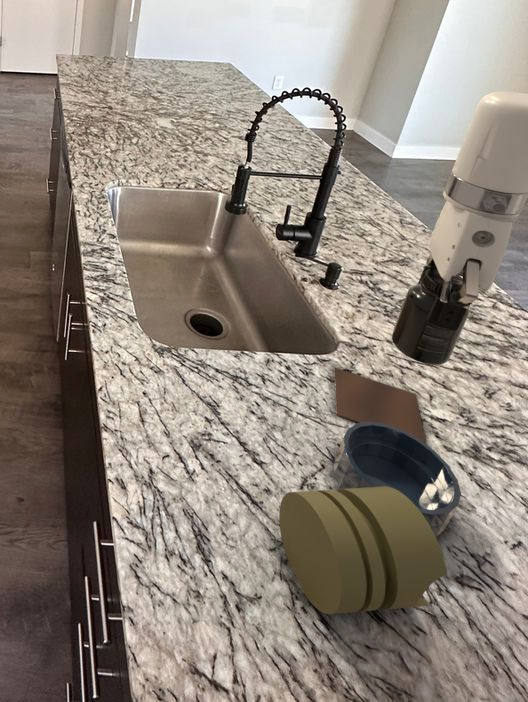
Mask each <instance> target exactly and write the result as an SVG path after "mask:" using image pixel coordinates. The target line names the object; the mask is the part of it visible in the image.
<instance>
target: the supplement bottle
mask: <svg viewBox="0 0 528 702" xmlns="http://www.w3.org/2000/svg"><path fill="white" fill-rule="evenodd" d="M462 278H463V277H462V276H458V275H456V276H452V279H455V280H459V281H462ZM443 282H444V279H443V278H442V277H441V276H440V274H439V272H438V269H429V270H427V271H426V272H425V273H424V276H423V278H422V279H421V282H420V284H418V283H417V284H415V285H413V286H411V287H409V289H408V291H407V293H406V295H405V298H404V300H403V303H402V306H401V308H400V310H399V314H398V317H397V319H396V323H395V325H394V328H393V330H392V333H391V341H392V343H393V345H394V346H395V347H396V349H397V350H398V351H399V352H401V353H402V354H403V355H405V356H406V357H408V358H409V359H411V360H414V361H416V362H417V363H421V364H425V365H431V366H441V365H443V364H447V362H449V360H450V358H451V356H452V354H453V352H454V350H455V348H456V346H457V344H458V340H459V338H460V337H461V333H462V331H463V329H464V327H465V325H466V322H467V320H468V317H469V314H470V307H469V308H468V309H467V310H466V312H465V315H464V317H463V319H462V321H461V323H460V326H459V328H458V330H456V331H453V330H449V329H445V328H442V327H438V326H434V325H431V324H429V323H428V321H427V318H428V316H429V314H430V311H431V309H432V306H433V304H434V302H435V299H436V297H439V298H440V296H441V292H442V287H443ZM461 288H462V286H458V285H454V284H452V286H451V290H450V293H452V292H455V291H456V292H459V290H461Z"/></svg>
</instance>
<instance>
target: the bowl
mask: <svg viewBox="0 0 528 702" xmlns="http://www.w3.org/2000/svg"><path fill="white" fill-rule="evenodd" d="M333 471H334V476H335V479H336V481H337V483H338V486H339V489H352V488H368V487H384V486H385V487H391V488H394V489H396V490H398V491H399V492H401V493H402V494H404V495H405V496H406V497H407V498H409V499H410V500H411V501H412V502H413V503H414V505H415V506H416V507H417V508H418V509H419V510H420V512H421V513H422V514H423V516H424V517H425V519H426V520H427V522H428V524H429V525H430V527H431V529H432V531H433V533H434V534H435V537H436V538H437V537H439V535H440V534H442V533H443V532H444V531H445V530H446V528H447V526H448V525H449V523H450V521H451V519H452V518H453V516H454V514H455V512H456V511H457V509H458V507H459V505H460V500H461V497H462V491H461V488H460V483H459V480H458V478H457V476H456V474H455V473H454V472H453V470H452V469H451V467H450V465H449V464H448V463H447V462H446V461H445V460H444V459H443V458H442V457H441V455H440V454H439V453H438V452H437V451H435V450H434V449H433V448H432V447H430V446H429V445H428V444H427V443H426V444H425V443H424V442H422V441H421V440H420V439H418V438H416V437H414V436H412V435H411V434H409V433H407V432H405V431H403V430H401V429H398V428H395V427H392V426H390V425H387V424H382V423H376V422H363V423H355V424H353V425H352V426H350V427H348V428H347V430H346V432H345V434H344V436H343V437H342V440H341V443H340V445H339V448H338V450H337V453H336V455H335V458H334V460H333Z"/></svg>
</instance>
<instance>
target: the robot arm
mask: <svg viewBox="0 0 528 702" xmlns="http://www.w3.org/2000/svg"><path fill="white" fill-rule="evenodd" d="M442 196H443V198H444V199H445V203H444V205H443V207H442V209H441V212H440V214H439V215H438V218H437V220H436V223H435V225H434V227H433V230H432V233H431V236H430V240H429V243H428V246H429V251H430V253H429V255H428V256H427V258H426V260H425V261H426V265H424V267H423V270H422V272H421V274H420V277H419V279H418V282H417V284H420V282H421V279H422V278H423V276H424V273H425V272H426V271H427V270H429V269H438V272H439V274H440V276H441V277H442V278H443V279H444V282H443V287H442V292H441V296H440V298H439V297H436V299H435V302H434V304H433V306H432V309H431V311H430V314H429V316H428V318H427V321H428V323H429V324H431V325H434V326H438V327H442V328H445V329H449V330H453V331H456V330H458V328H459V326H460V323H461V321H462V319H463V317H464V315H465V312H466V310H467V309H468V308H469V309H470V307H471V305H472V304H473V303H474V302H476V301H478V298H479V292H480V291H479V290H481V291H483V292H487V291H489V290H490V289H491V288H492V286H493V284H494V281H495V279H496V277H497V274H498V272H499V269H500V266H501V264H502V260H503V259H504V256H505V253H506V250H507V247H508V243H509V241H510V236H511V233H512V229H513V224H514V219H516V218H518V217H519V216H520V215H521V214H522V211H523V208H524V206H525V205H526V202H527V199H528V93H523V92H516V91H494V92H490V93H488V94H486V95H484V96H483V97H482V98H481V99H480V100H479V102H478V103H477V106H476V108H475V111H474V113H473V115H472V118H471V120H470V123H469V126H468V129H467V131H466V134H465V136H464V139H463V141H462V144H461V146H460V149H459V151H458V153H457V156H456V159H455V162H454V164H453V167H452V170H451V172H450V174H449V177H448V180H447V182H446V185H445V187H444V190H443V192H442ZM456 275H458V276H460V277H461V278H462V281H459V280H455V279H452V276H456ZM452 284H454V285H458V286H462V288H461V290H459V292H456V291H455V292H452V293H450V290H451V286H452Z"/></svg>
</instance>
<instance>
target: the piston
mask: <svg viewBox="0 0 528 702" xmlns="http://www.w3.org/2000/svg"><path fill="white" fill-rule="evenodd" d="M278 511H279V512H278V513H279V514H278V515H279V516H278V517H279V518H278V519H279V520H278V521H279V531H280V537H281V542H282V546H283V550H284V553H285V557H286V559H287V562H288V564H289V565H290V567H291V570H292V572H293V574H294V576H295V578H296V580H297V582H298V584H299V586H300V588H301V590H302V592H303V594H304V596H305V598H307V599H308V601H309V603H311V605H312V606H313V607H314V608H315V609H317V610H318V611H319V612H321V613H322V614H325V615H336V614H338V615H339V614H347V613H349V614H351V613H357V612H358V613H359V612H360V613H362V612H373V611H377V610H381V611H382V610H383V611H384V610H396V609H397V610H399V609H410V608H411V609H412V608H420V607H429V604H428V602H427V601H426V599H425V598H423V595H425V592H426V591H427V590H428V588H430V586H431V585H433V583H434V582H435V581H437V580H438V579H440V578H442V577H446V576H448V573H447V566H446V561H445V558H444V554H443V552H442V549H441V545H440V543H439V541H438V539H437V537H435V534H434V533H433V531H432V529H431V527H430V525H429V524H428V522H427V520H426V519H425V517H424V516H423V514H422V513H421V512H420V510H419V509H418V508H417V507H416V506H415V505H414V503H413V502H412V501H411V500H410V499H409V498H407V497H406V496H405V495H404V494H402V493H401V492H399V491H398V490H396V489H394V488H391V487H385V486H384V487H368V488H352V489H341V488H339V489H336V490H335V489H321V490H305V491H290V492H287V493H286V494H284V496H282V499H281V502H280V505H279V510H278Z"/></svg>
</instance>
